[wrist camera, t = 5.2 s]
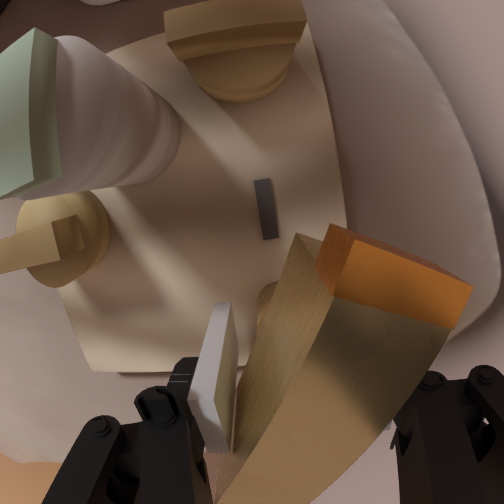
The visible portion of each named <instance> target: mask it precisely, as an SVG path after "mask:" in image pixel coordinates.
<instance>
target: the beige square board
mask: <svg viewBox="0 0 504 504" xmlns="http://www.w3.org/2000/svg"><path fill="white" fill-rule="evenodd" d="M163 16H164V27H165V32H163V33H160V34H157V35H154V36H151V37H147V38H144V39H142V40H139V41H136V42H133V43H130V44H128V45H125V46H123V47H120V48H117V49H115V50H113V51H110V52H108V53H103V52H102V51H101V50H99V49H98V48H96V47H95V46H94V45H92V44H91V43H89V42H88V41H86V40H84V39H82V38H80V37H77V36H70V35H66V36H59V37H55V38H54V37H52V36H50V35H49V34H47V33H45V32H43V31H41V30H39V29H38V28H36V27H34V28H33V29H32V30H30V31H29V32H27V33H26V34H25V35H23V36H22V37H21V38H19V39H18V40H17V41H15V42H14V43H13V44H11V45H10V46H9V47H8V48H6V49H5V50H4V51H3V52H2V53H0V199H4V198H10V197H15V198H18V199H22V200H26V201H25V202H24V204H23V205H22V207H21V209H20V212H19V215H18V219H17V225H16V234H15V235H12V236H10V237H7V238H4V239H2V240H0V274H2V273H7V272H11V271H15V270H19V269H23V268H27V270H28V271H29V272H30V274H31V275H32V276H33V277H34V278H35V279H36V280H37V281H39V282H40V283H42V284H43V285H46V286H48V287H53V288H58V290H59V293H60V296H61V299H62V302H63V305H64V307H65V310H66V313H67V315H68V318H69V320H70V323H71V325H72V328H73V330H74V332H75V335H76V337H77V339H78V342H79V344H80V346H81V348H82V351H83V353H84V355H85V357H86V359H87V361H88V363H89V365H90V367H91V369H92V371H95V372H167V371H173V369H174V366H175V364H176V363H177V362H178V361H179V360H181V359H182V358H183V357H199V356H200V352H201V349H202V345H203V342H204V339H205V335H206V332H207V328H208V325H209V322H210V318H211V315H212V311H213V308H214V305H215V303H219V302H230V301H231V305H232V311H233V317H234V323H235V329H236V335H237V340H238V346H239V356H238V366H245V365H246V363H247V361H248V358H249V356H250V353H251V351H252V348H253V345H254V343H255V340H256V338H257V298H258V295H259V293H260V292H261V290H262V289H263V288H264V287H265V286H267V285H268V284H270V283H272V282H275V281H278V280H279V278H280V275H281V272H282V269H283V267H284V264H285V261H286V258H287V256H288V253H289V250H290V247H291V245H292V242H293V239H294V236H295V233H296V232H297V233H300V234H303V235H306V236H309V237H312V238H315V239H317V240H320V241H323V240H324V237H325V235H326V232H327V229H328V226H329V224H330V223H332V224H335V225H338V226H340V227H343V228H346V229H347V222H346V213H345V204H344V196H343V188H342V180H341V173H340V166H339V160H338V154H337V147H336V142H335V136H334V130H333V125H332V120H331V115H330V110H329V105H328V100H327V96H326V91H325V87H324V82H323V78H322V74H321V70H320V66H319V62H318V58H317V54H316V50H315V47H314V43H313V40H312V36H311V33H310V29H309V26H308V23H307V19H306V15H305V12H304V9H303V6H302V3H301V0H209V1H204V2H199V3H195V4H191V5H186V6H182V7H179V8H175V9H171V10H168V11H164V12H163Z"/></svg>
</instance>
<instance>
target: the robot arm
mask: <svg viewBox="0 0 504 504" xmlns="http://www.w3.org/2000/svg"><path fill="white" fill-rule="evenodd" d="M8 1H9V0H0V13H1V11H2V10H3V9H4V7H5V6H6V4H7V3H8ZM238 356H239V346H238V340H237V335H236V329H235V323H234V317H233V311H232V305H231V301H230V302H219V303H215V305H214V308H213V311H212V315H211V318H210V322H209V325H208V328H207V332H206V335H205V339H204V342H203V345H202V349H201V352H200V356H199V357H183V358H182V359H181V360H179V361H178V362H177V363H176V364H175V366H174V369H173V371H172V375H171V376H170V379H169V382H168V384H167V387H166V386H155V387H150V388H147V389H146V390H144V391H142V392H141V393H140V394H138V395H137V396H136V398H135V401H134V404H135V406H136V408H137V410H138V412H139V414H140V416H141V418H142V420H143V421H142V422H137V423H132V424H124V425H120V423H119V422H118V421H117V420H116V419H115V418H114V417H111V416H108V415H101V416H98V417H94V418H93V419H91V420H89V421H88V422H87V423H86V425H85V426H84V427H83V429H82V431H81V432H80V434H79V436H78V438H77V439H76V441H75V443H74V445H73V446H72V448H71V450H70V452H69V453H68V455H67V457H66V459H65V460H64V462H63V464H62V466H61V468H60V470H59V471H58V473H57V475H56V477H55V479H54V481H53V483H52V484H51V486H50V488H49V490H48V492H47V494H46V496H45V498H44V500H43V502H42V504H213V500H212V495H211V489H210V484H209V478H208V473H207V467H206V462H205V460H204V458H203V451H204V445H205V447H206V450H207V452H208V453H230V451H231V438H232V426H233V414H234V402H235V391H236V379H237V367H238ZM484 418H486V419H487V421H488V422H489V424H486V423H485V422H484V421H483V420H484ZM393 420H394V422H395V424H396V426H397V428H396V431H395V434H394V437H393V440H392V442H391V446H390V449H393V447H394V445H395V446H396V455H397V465H398V476H399V490H400V504H504V376H503V375H502V374H501V373H500V372H499V371H498V370H497V369H496V368H494V367H492V366H489V365H479V366H476V367H474V368H473V369H472V370H471V371H470V373H469V376H468V378H467V379H459V380H447V379H446V377H445V376H444V375H442V374H441V373H439V372H435V371H427V372H426V374H425V375H424V377H423V378H422V380H421V381H420V383H419V384H418V386H417V387H416V388H415V390H414V391H413V393H412V394H411V396H410V397H409V398H408V400H407V401H406V402H405V404H404V405H403V406H402V408H401V409H400V410H399V412H398V413H397V414H396V416H395V417H394V418H393ZM391 423H392V421H391V422H390V423H389V424H388V425H387V427H386V428H385V429H384V430H387V429H390V426H391ZM384 430H383V431H384Z"/></svg>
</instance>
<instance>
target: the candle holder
mask: <svg viewBox="0 0 504 504" xmlns="http://www.w3.org/2000/svg"><path fill="white" fill-rule="evenodd" d="M80 1H82V2H84V3H86V4H90V5H105V4H110V3H114V2H117V1H120V0H80Z"/></svg>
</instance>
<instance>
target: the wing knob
mask: <svg viewBox="0 0 504 504" xmlns="http://www.w3.org/2000/svg"><path fill="white" fill-rule="evenodd" d="M472 289H473V286H472V285H470V284H468V283H467V282H465V281H463V280H462V279H460V278H458V277H457V276H455V275H453V274H452V273H450V272H448V271H447V270H445V269H443V268H441V267H440V266H438V265H436V264H434V263H432V262H429V261H427V260H425V259H422V258H420V257H417V256H415V255H413V254H410V253H408V252H405V251H403V250H400V249H398V248H395V247H393V246H390V245H388V244H385V243H383V242H380V241H378V240H375V239H372V238H370V237H367V236H365V235H362V234H359V233H357V232H354V231H351V230H349V229H346V228H343V227H340V226H338V225H335V224H332V223H330V224H329V226H328V229H327V232H326V235H325V237H324V240H323V241H320V240H317V239H315V238H312V237H309V236H306V235H303V234H300V233H297V232H296V233H295V236H294V239H293V242H292V245H291V247H290V250H289V253H288V256H287V258H286V261H285V264H284V267H283V269H282V272H281V275H280V278H279V280H278V281H275V282H272V283H270V284H268V285H267V286H265V287H264V288H263V289H262V290H261V292H260V293H259V295H258V298H257V338H256V340H255V343H254V345H253V348H252V351H251V353H250V356H249V358H248V361H247V363H246V365H245V368H244V370H243V373H242V375H241V378H240V380H239V383H238V385H237V388H236V391H235V402H234V414H233V426H232V438H231V451H230V453H220V454H219V462H218V471H217V480H216V489H215V498H214V504H309V503H310V502H311V501H313V500H314V499H315V498H316V497H317V496H319V495H320V494H321V493H322V492H323V491H324V490H326V489H327V488H328V487H329V486H330V485H331V484H332V483H333V482H334V481H335V480H337V479H338V478H339V477H340V476H341V475H342V474H343V473H344V472H345V471H346V470H347V469H348V468H349V467H350V466H351V465H352V464H353V463H354V462H355V461H356V460H357V459H358V458H359V457H360V456H361V455H362V454H363V453H364V452H365V451H366V450H367V448H368V447H369V446H370V445H371V444H372V443H373V442H374V441H375V439H376V438H377V437H378V436H379V435H380V434H381V432H382V431H383V430H384V429H385V428H386V427H387V425H388V424H389V423H390V422H391V421H392V419H393V418H394V417H395V416H396V414H397V413H398V412H399V410H400V409H401V408H402V406H403V405H404V404H405V402H406V401H407V400H408V398H409V397H410V396H411V394H412V393H413V391H414V390H415V388H416V387H417V386H418V384H419V383H420V381H421V380H422V378H423V377H424V375H425V374H426V372H427V371H428V369H429V367H430V366H431V364H432V363H433V361H434V359H435V358H436V356H437V354H438V353H439V351H440V349H441V348H442V346H443V344H444V342H445V341H446V339H447V337H448V335H449V333H450V332H451V330H452V329H454V327H455V325H456V323H457V321H458V319H459V317H460V315H461V313H462V311H463V309H464V307H465V305H466V303H467V301H468V298H469V296H470V294H471V292H472Z"/></svg>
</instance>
